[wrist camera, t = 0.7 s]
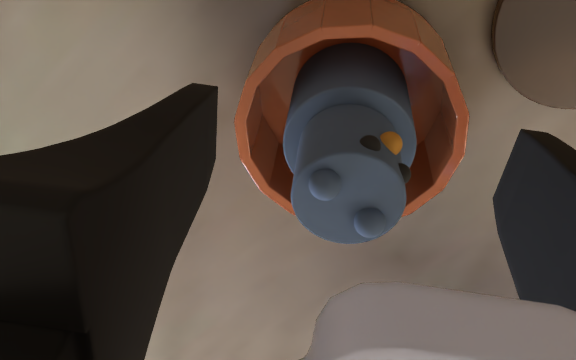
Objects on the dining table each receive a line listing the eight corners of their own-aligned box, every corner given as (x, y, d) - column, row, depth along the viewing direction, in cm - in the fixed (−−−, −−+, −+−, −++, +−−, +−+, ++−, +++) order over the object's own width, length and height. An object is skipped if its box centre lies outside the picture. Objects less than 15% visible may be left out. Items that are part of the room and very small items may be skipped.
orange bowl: (476, 134, 24) (496, 187, 21) (304, 195, 27) (297, 250, 24) (409, -49, 20) (420, -20, 17) (215, 45, 23) (192, 85, 20)
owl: (431, 97, 23) (462, 217, 16) (347, 163, 25) (345, 292, 18) (351, 16, 21) (351, 113, 14) (270, 95, 23) (237, 209, 17)
